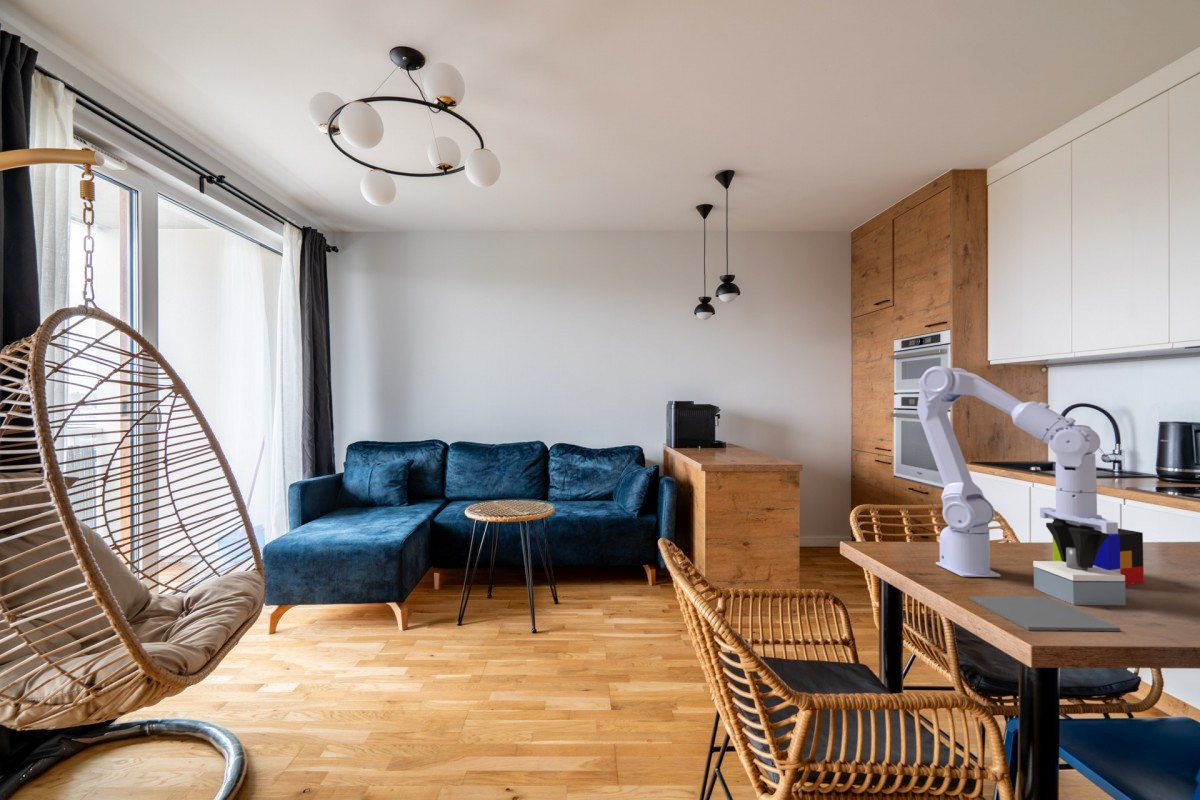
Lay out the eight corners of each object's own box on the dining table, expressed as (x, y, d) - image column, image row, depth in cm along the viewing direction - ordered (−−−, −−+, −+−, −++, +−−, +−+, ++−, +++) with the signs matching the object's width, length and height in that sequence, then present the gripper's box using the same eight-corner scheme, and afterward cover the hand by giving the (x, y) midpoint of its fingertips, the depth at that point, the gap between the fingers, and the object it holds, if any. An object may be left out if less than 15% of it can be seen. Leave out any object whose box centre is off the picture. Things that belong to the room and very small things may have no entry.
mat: (969, 599, 99) (969, 596, 99) (1047, 599, 98) (1047, 597, 98) (1028, 630, 85) (1028, 627, 85) (1120, 631, 84) (1120, 627, 84)
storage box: (1033, 588, 105) (1033, 567, 105) (1081, 588, 105) (1081, 567, 105) (1073, 604, 96) (1073, 582, 96) (1125, 605, 96) (1125, 582, 96)
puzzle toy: (1108, 587, 106) (1107, 535, 106) (1053, 572, 115) (1052, 525, 115) (1143, 582, 108) (1142, 532, 109) (1086, 569, 118) (1085, 522, 118)
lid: (1033, 570, 105) (1033, 542, 105) (1080, 570, 105) (1080, 543, 105) (1072, 585, 96) (1072, 555, 96) (1125, 585, 96) (1124, 555, 96)
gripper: (1135, 497, 93) (1137, 576, 93) (1065, 485, 108) (1066, 554, 107) (1093, 496, 93) (1095, 576, 93) (1028, 485, 108) (1029, 554, 108)
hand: (1076, 564), depth 100 cm, fingers closed on lid, 3 cm apart
